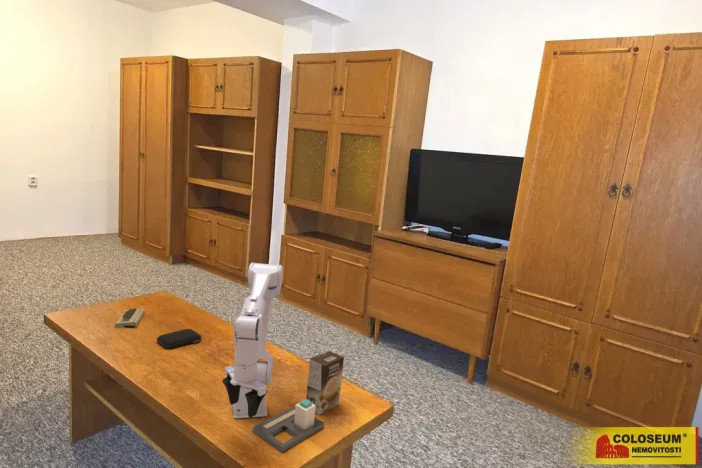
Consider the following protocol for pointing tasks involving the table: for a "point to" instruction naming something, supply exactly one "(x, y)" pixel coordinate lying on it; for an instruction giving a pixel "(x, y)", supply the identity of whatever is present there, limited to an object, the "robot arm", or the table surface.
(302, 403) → the plug
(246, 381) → the robot arm
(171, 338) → the carrying case or bag
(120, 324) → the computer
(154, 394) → the table surface
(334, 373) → the coffee box
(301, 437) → the panel
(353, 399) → the table surface
